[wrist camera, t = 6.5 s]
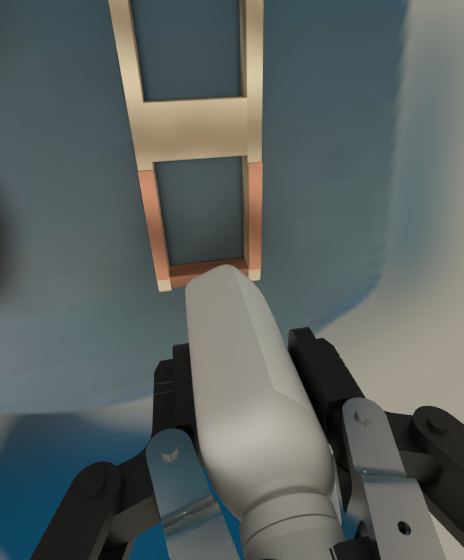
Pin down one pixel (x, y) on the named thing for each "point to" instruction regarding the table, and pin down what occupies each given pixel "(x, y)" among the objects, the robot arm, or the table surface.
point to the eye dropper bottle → (258, 423)
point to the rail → (197, 139)
